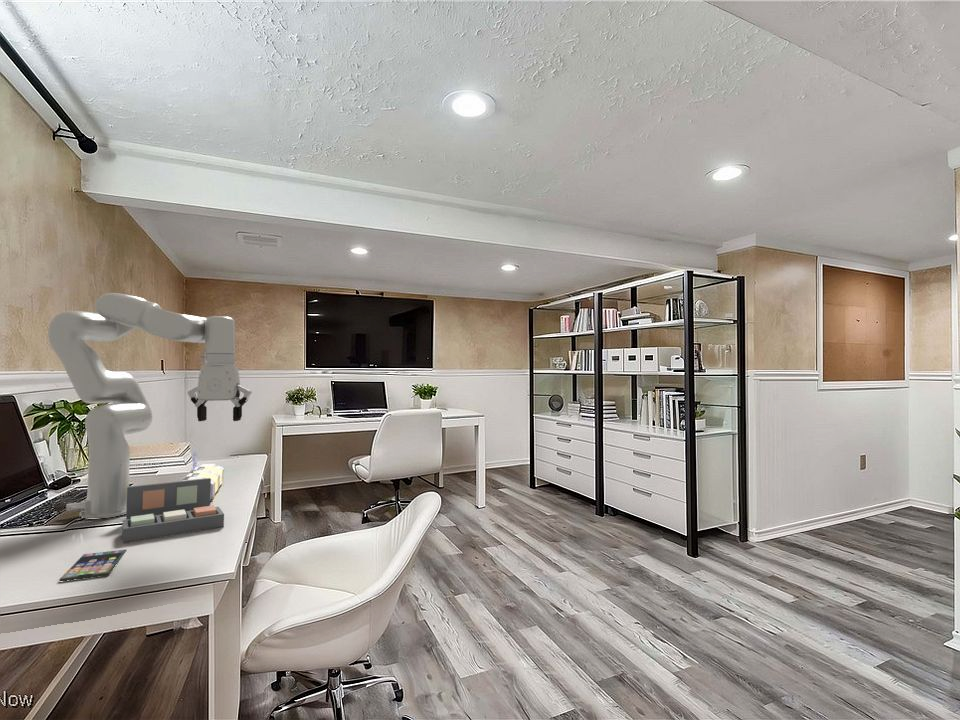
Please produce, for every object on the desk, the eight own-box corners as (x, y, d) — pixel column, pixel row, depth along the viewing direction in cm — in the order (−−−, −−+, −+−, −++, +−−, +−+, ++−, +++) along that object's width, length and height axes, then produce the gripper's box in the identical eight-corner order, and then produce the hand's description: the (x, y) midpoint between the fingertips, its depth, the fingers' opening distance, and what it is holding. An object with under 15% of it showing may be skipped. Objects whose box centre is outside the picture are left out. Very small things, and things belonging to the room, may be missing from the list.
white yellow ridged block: (191, 486, 173) (192, 449, 173) (223, 484, 176) (224, 448, 177) (174, 506, 149) (176, 463, 150) (212, 503, 153) (213, 462, 153)
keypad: (122, 543, 118) (124, 502, 118) (121, 522, 133) (122, 486, 133) (223, 526, 131) (224, 490, 131) (212, 509, 146) (213, 476, 146)
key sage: (131, 531, 120) (131, 521, 120) (130, 526, 124) (130, 516, 124) (154, 528, 123) (154, 518, 123) (152, 523, 127) (153, 513, 127)
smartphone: (126, 552, 114) (126, 547, 114) (108, 578, 100) (108, 572, 100) (83, 557, 110) (83, 551, 110) (59, 584, 97) (59, 578, 97)
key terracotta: (195, 522, 129) (196, 512, 129) (193, 517, 132) (193, 508, 132) (216, 518, 132) (216, 509, 132) (213, 514, 135) (213, 505, 135)
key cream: (164, 526, 124) (164, 517, 124) (162, 521, 128) (163, 512, 128) (186, 523, 127) (186, 513, 127) (184, 518, 131) (184, 509, 131)
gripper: (181, 360, 133) (180, 422, 133) (244, 360, 133) (244, 422, 133) (196, 360, 140) (196, 419, 140) (256, 360, 141) (256, 419, 141)
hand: (219, 420), depth 137 cm, fingers open, 9 cm apart
